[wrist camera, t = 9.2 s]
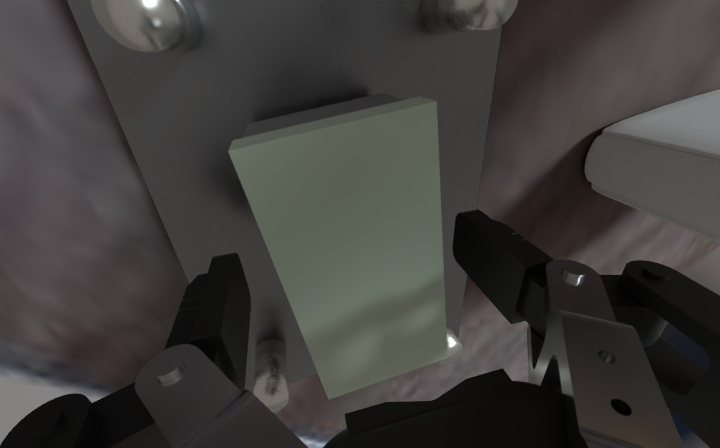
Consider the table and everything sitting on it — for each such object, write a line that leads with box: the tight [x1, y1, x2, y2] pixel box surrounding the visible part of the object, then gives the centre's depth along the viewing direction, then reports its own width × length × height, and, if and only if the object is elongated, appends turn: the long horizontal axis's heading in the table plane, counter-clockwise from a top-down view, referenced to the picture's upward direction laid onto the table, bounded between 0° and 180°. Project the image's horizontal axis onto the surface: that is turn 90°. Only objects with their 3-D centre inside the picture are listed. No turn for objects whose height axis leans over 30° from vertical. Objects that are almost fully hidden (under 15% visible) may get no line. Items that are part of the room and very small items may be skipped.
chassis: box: [67, 0, 518, 413], centre depth 13 cm, size 14×21×4 cm, turn 3°
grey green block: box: [228, 93, 448, 399], centre depth 11 cm, size 5×10×4 cm, turn 10°
